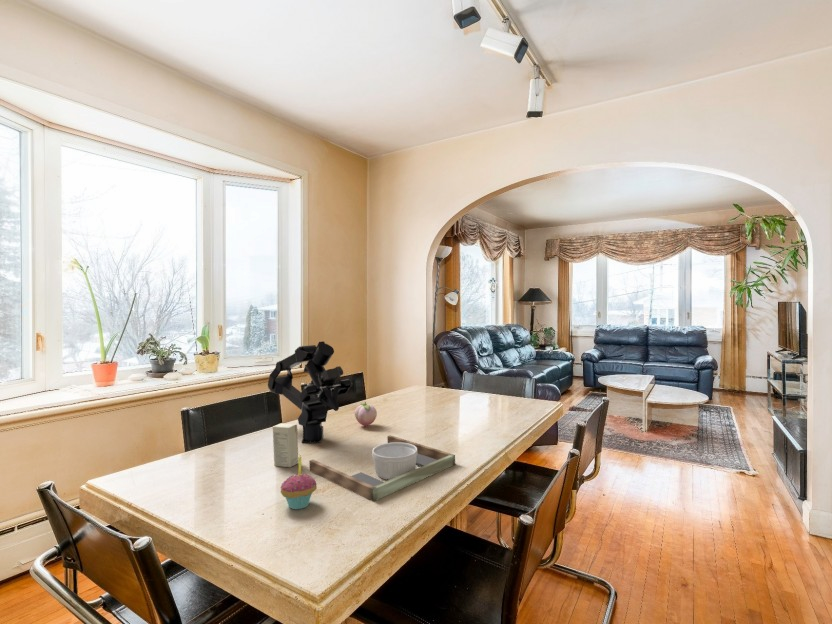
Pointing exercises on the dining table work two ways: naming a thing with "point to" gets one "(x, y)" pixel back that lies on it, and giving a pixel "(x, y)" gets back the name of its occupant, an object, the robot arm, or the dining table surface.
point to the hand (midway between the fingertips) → (337, 410)
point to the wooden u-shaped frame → (390, 486)
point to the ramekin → (394, 459)
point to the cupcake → (298, 489)
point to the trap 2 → (423, 460)
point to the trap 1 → (367, 479)
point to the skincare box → (285, 445)
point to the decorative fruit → (365, 414)
